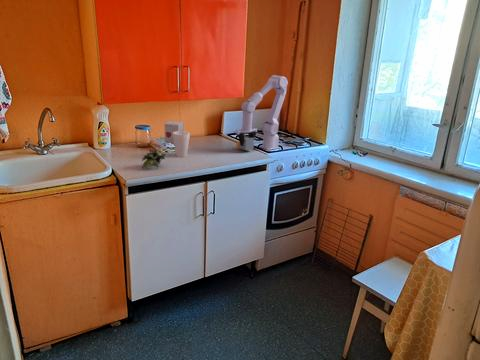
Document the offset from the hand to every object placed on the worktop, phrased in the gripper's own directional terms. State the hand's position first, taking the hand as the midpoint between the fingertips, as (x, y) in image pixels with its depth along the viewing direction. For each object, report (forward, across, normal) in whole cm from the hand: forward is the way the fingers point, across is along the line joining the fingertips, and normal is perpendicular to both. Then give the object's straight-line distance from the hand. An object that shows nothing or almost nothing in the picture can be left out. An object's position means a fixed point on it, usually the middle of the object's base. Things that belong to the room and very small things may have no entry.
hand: (246, 144), depth 228 cm
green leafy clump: (+4, +60, +1) cm, 60 cm away
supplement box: (+4, +33, -29) cm, 44 cm away
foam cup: (+4, +38, -11) cm, 40 cm away
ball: (+1, 0, -5) cm, 5 cm away
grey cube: (+2, 0, 0) cm, 2 cm away
